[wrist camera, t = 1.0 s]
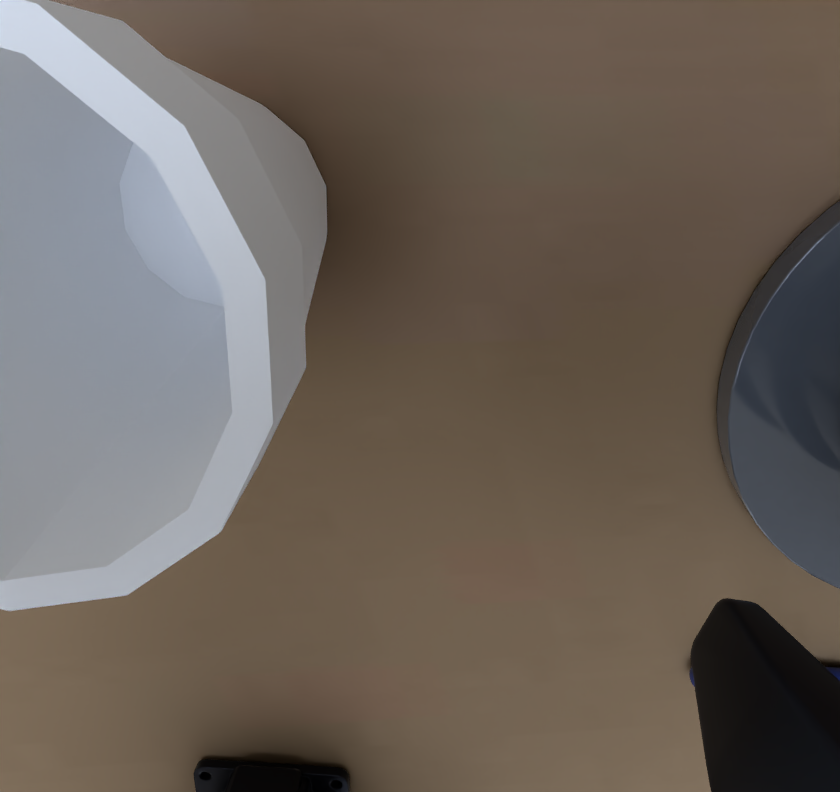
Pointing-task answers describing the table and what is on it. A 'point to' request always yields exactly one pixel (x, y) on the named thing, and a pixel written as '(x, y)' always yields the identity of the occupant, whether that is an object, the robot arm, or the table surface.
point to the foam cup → (137, 301)
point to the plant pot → (790, 401)
